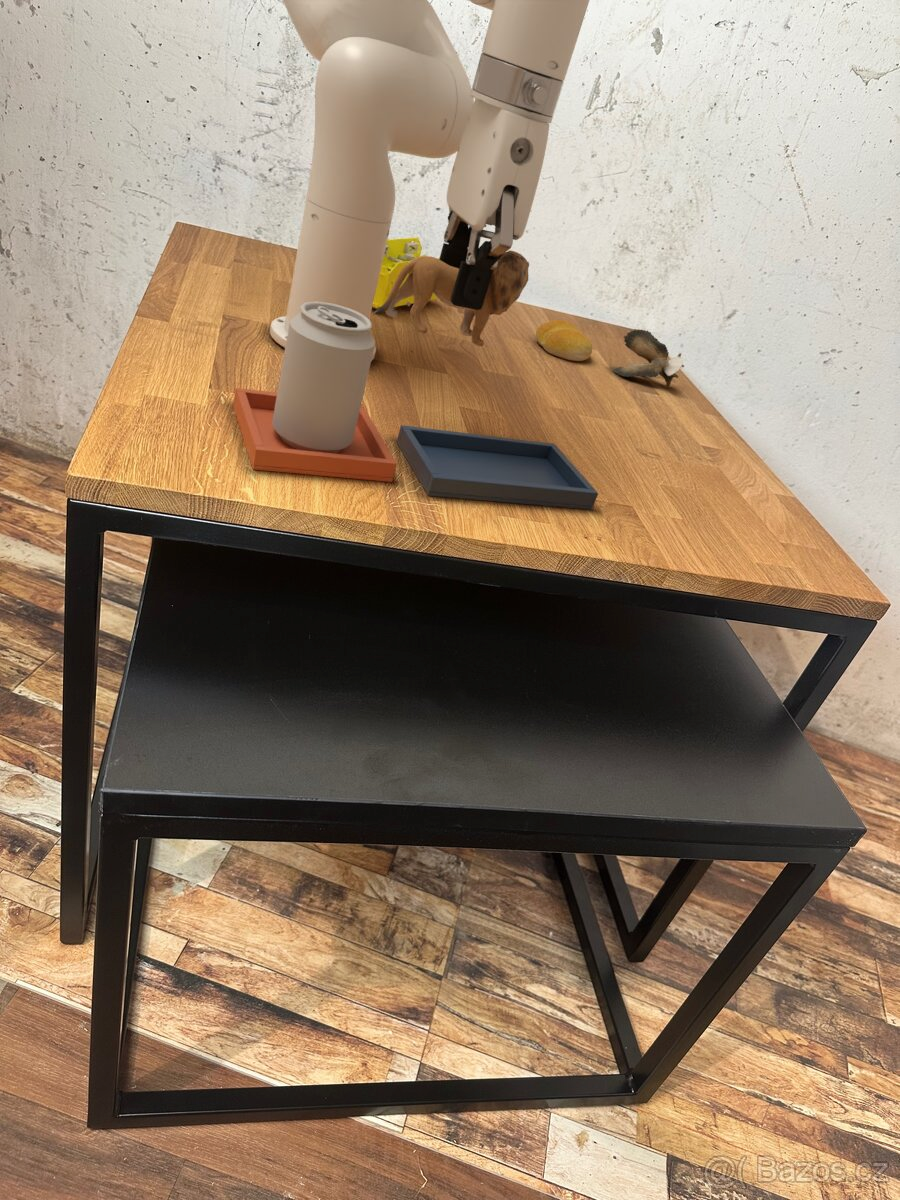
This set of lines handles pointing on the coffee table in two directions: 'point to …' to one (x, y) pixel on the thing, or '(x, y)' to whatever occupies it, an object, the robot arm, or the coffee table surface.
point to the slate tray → (494, 469)
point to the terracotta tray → (274, 454)
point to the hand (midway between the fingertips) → (457, 294)
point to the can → (323, 377)
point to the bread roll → (564, 340)
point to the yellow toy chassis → (396, 268)
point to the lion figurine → (441, 279)
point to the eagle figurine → (650, 357)
